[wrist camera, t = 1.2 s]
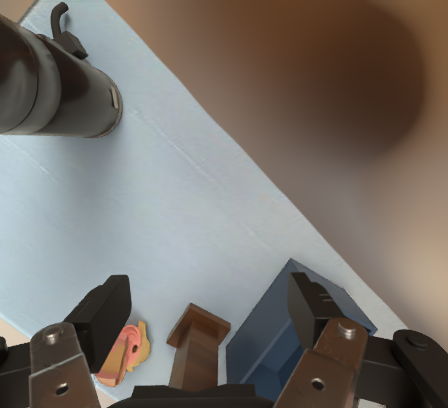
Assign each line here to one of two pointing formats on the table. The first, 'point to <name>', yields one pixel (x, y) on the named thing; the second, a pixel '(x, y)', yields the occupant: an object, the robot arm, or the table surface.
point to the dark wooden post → (196, 349)
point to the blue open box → (278, 336)
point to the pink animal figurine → (125, 354)
